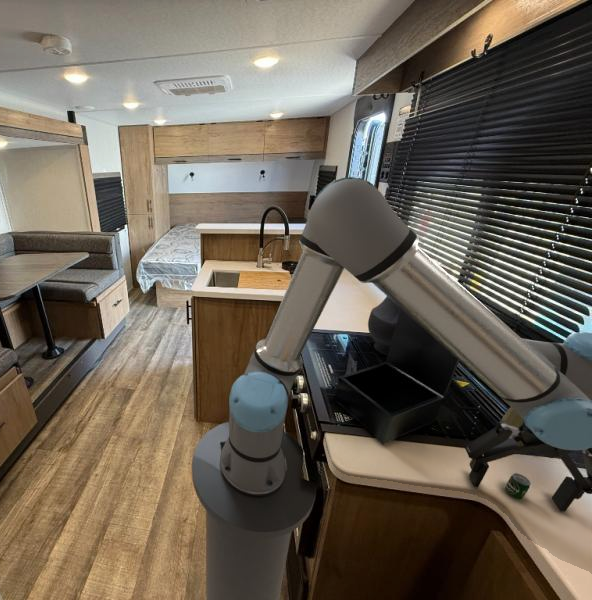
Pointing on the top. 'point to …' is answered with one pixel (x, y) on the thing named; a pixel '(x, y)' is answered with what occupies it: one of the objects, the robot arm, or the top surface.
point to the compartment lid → (421, 355)
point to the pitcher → (383, 324)
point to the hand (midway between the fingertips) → (513, 492)
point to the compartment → (387, 401)
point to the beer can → (517, 486)
